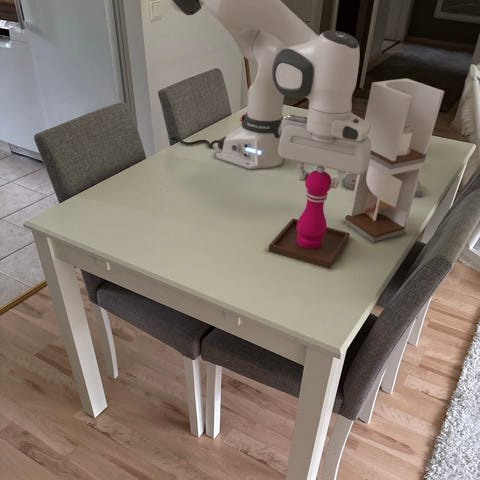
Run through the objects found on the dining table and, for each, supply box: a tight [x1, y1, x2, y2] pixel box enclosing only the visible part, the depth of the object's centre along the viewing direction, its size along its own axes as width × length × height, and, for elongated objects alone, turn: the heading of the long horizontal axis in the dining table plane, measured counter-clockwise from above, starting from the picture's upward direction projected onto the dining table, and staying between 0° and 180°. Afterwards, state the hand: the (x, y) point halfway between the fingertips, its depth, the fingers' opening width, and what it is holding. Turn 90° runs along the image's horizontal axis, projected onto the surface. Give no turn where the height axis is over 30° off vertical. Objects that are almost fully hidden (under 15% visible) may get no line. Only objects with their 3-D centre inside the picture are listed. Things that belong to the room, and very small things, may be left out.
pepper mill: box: [297, 166, 332, 249], centre depth 115 cm, size 7×7×20 cm
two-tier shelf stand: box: [344, 78, 445, 243], centre depth 119 cm, size 11×11×35 cm
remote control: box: [344, 173, 422, 198], centre depth 149 cm, size 8×23×2 cm, turn 79°
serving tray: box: [268, 217, 350, 269], centre depth 121 cm, size 16×16×2 cm
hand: (318, 183), depth 111 cm, fingers closed on pepper mill, 6 cm apart
